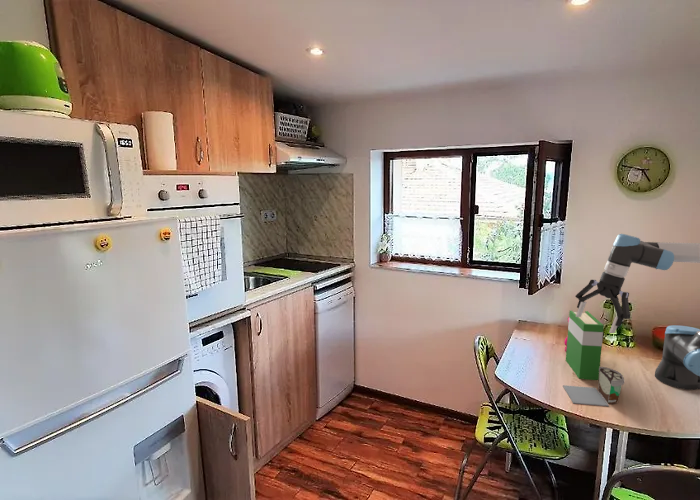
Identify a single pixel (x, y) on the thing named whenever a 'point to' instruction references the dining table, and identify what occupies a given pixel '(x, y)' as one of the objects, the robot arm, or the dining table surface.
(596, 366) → the hardback book
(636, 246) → the robot arm
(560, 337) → the dining table surface
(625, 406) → the dining table surface
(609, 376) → the food container
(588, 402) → the mat
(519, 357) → the dining table surface
